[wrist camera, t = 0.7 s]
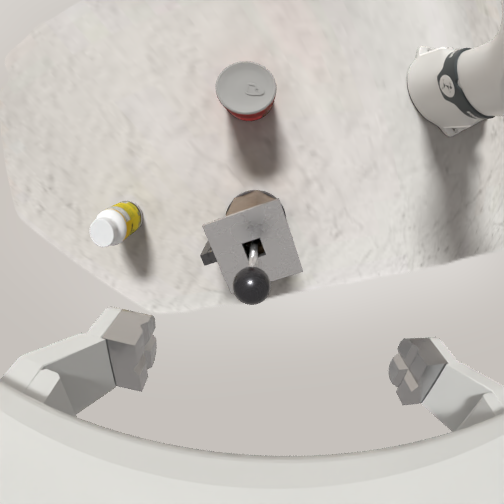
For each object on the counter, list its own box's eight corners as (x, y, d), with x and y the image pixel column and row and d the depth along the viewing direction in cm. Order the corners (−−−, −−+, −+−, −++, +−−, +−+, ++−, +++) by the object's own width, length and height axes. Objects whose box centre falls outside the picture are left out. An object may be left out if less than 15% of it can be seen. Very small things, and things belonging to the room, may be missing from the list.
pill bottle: (129, 237, 52) (103, 259, 42) (109, 214, 50) (79, 231, 40) (150, 217, 50) (124, 236, 40) (129, 192, 49) (99, 206, 39)
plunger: (269, 206, 40) (275, 249, 24) (284, 250, 42) (298, 314, 26) (223, 222, 41) (201, 273, 25) (240, 264, 43) (230, 333, 27)
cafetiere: (274, 181, 48) (280, 197, 34) (293, 237, 51) (304, 272, 37) (204, 206, 50) (183, 231, 36) (226, 259, 53) (214, 300, 39)
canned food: (273, 121, 44) (277, 114, 34) (224, 121, 44) (214, 115, 34) (272, 78, 41) (276, 60, 31) (224, 79, 41) (215, 62, 31)
